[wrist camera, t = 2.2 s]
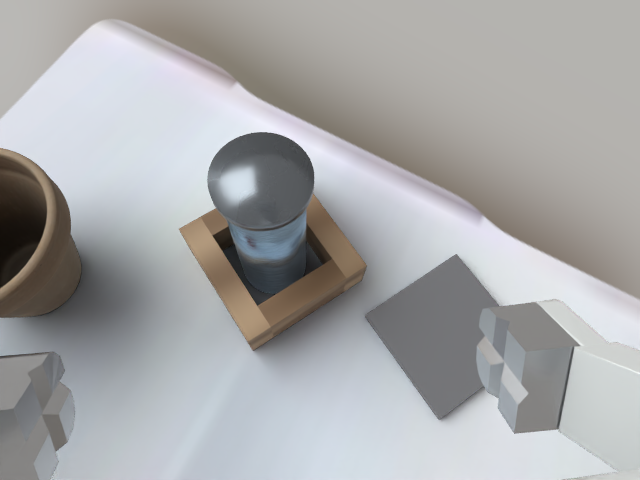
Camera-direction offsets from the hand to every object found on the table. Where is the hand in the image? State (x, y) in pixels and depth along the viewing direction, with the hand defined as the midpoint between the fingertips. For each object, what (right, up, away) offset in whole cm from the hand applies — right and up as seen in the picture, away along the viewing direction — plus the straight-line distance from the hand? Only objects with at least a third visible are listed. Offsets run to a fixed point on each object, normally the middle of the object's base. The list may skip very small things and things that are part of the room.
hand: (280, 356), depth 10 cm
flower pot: (-21, -1, +29) cm, 36 cm away
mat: (+11, -5, +29) cm, 31 cm away
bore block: (-3, 0, +30) cm, 30 cm away
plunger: (-3, 0, +30) cm, 30 cm away
